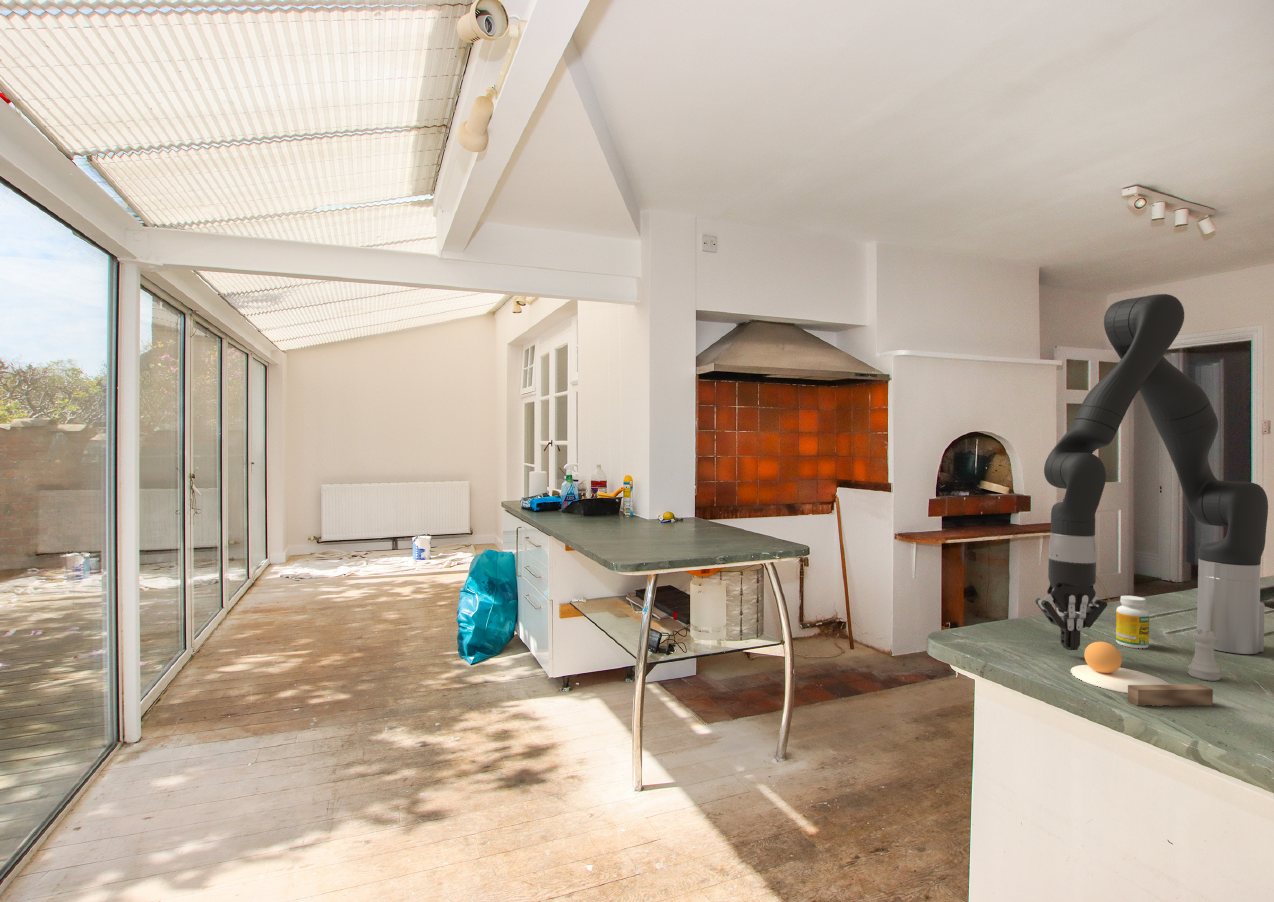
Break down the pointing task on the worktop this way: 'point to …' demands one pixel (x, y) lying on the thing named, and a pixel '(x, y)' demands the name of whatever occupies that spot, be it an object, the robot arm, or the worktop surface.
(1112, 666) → the egg
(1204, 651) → the rook chess piece
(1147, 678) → the disc
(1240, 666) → the worktop surface
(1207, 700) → the rail
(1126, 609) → the supplement bottle
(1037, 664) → the worktop surface
